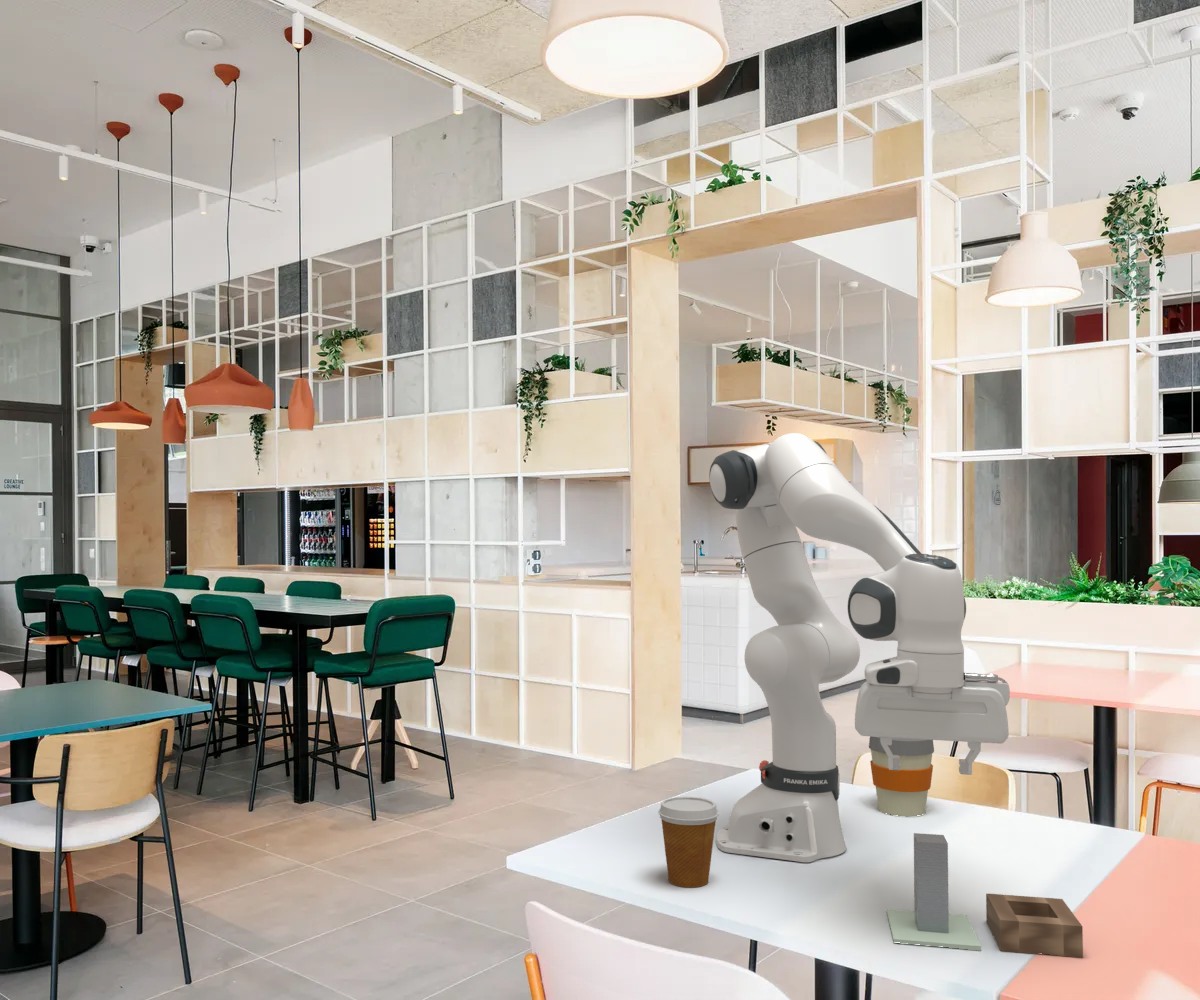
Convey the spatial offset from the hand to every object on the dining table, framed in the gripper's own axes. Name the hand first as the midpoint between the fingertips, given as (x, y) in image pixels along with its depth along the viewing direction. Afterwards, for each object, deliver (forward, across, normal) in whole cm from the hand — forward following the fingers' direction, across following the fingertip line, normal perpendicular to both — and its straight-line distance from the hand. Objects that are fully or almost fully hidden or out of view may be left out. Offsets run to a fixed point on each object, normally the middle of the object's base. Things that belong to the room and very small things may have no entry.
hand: (929, 771), depth 136 cm
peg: (+21, 0, 0) cm, 21 cm away
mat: (+22, 0, 0) cm, 22 cm away
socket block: (+22, -13, 0) cm, 25 cm away
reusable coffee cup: (+23, -3, -63) cm, 67 cm away
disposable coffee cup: (+22, +35, -13) cm, 43 cm away
